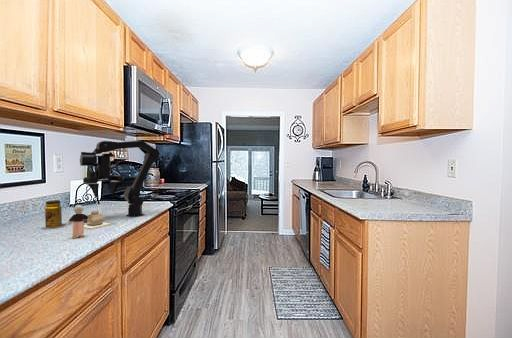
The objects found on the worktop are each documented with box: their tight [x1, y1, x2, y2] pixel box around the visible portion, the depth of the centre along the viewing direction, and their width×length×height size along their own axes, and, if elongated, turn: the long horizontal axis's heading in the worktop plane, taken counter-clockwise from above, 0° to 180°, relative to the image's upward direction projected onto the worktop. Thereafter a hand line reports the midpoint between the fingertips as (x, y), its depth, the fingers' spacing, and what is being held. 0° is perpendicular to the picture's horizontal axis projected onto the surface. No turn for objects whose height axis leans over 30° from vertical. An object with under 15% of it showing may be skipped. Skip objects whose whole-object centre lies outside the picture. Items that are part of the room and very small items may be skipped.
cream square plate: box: [84, 220, 117, 231], centre depth 130 cm, size 13×12×1 cm
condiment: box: [42, 199, 68, 230], centre depth 128 cm, size 7×8×12 cm
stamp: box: [86, 210, 104, 226], centre depth 130 cm, size 4×4×6 cm
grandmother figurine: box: [66, 204, 90, 239], centre depth 110 cm, size 8×4×13 cm, turn 148°
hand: (104, 196), depth 143 cm, fingers open, 9 cm apart
